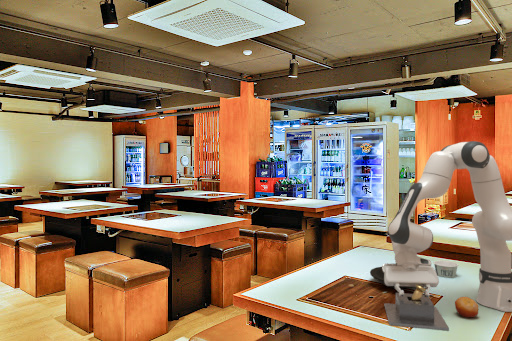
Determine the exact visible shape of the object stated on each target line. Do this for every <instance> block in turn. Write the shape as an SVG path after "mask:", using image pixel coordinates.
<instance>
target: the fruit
mask: <svg viewBox="0 0 512 341" xmlns="http://www.w3.org/2000/svg"><path fill="white" fill-rule="evenodd" d="M454 306H455V310H456V313H458V315H460V316H461V317H462V318H474V317H475V318H476V316H478V315H479V303H478V302H477V301H476V300H474V299H472V298H470V297H468V296H461V297H458V298H457V299H456V300H454Z"/></svg>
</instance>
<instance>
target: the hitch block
mask: <svg viewBox="0 0 512 341" xmlns="http://www.w3.org/2000/svg"><path fill="white" fill-rule="evenodd" d="M413 294H414V293H405V292H404V296H399V292H395V303H383V304H384V305H383V306H384V309H385V313H386V316H387V321H388V324H389V326H396V327H406V328H418V329H419V328H420V329H427V330H437V331H439V330H440V331H448V332H449V331H450V327H449V325H448V324H447V323H446V320H445V319H444V317H443V316H442V314H441V313H440V311H439V309H438V308H437V307H436V306H435V305H434V303H433V301H432V300H431V298H430V296H429V297H424V294H423V295H422V297H421V299H420V301H410V300H411V298H412V296H413Z"/></svg>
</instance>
